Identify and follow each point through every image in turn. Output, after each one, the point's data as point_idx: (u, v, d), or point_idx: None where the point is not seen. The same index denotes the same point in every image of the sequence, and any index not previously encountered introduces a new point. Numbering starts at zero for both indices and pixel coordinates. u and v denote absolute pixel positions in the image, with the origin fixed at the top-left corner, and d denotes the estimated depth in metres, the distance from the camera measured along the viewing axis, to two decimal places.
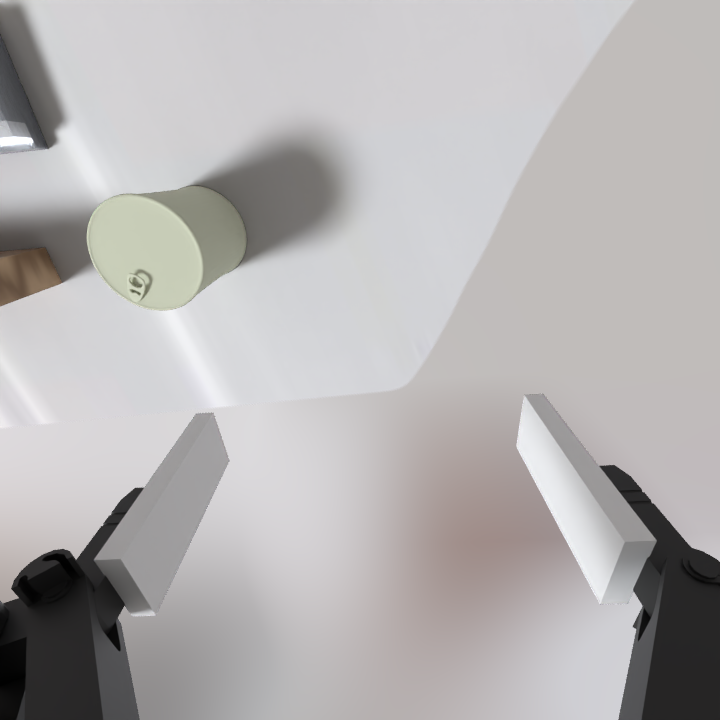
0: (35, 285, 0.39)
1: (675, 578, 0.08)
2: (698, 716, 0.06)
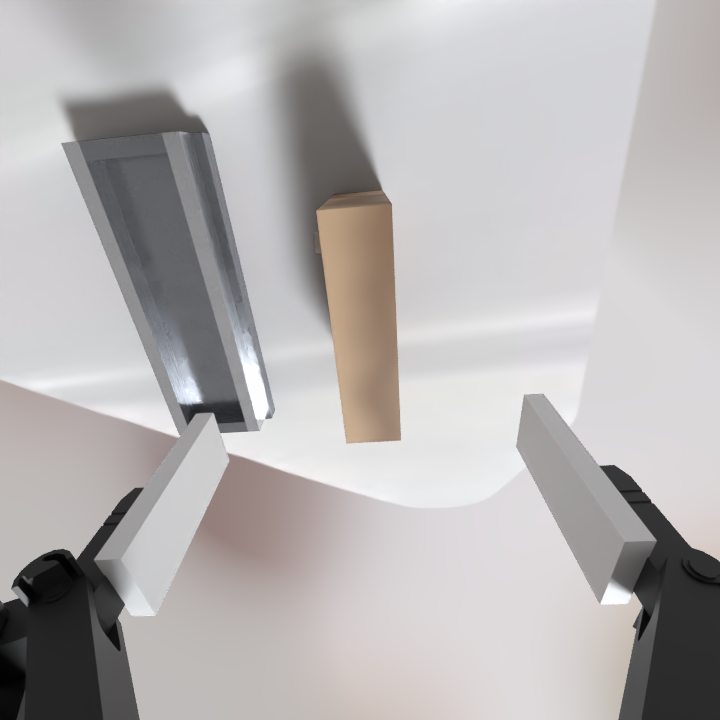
0: (374, 193, 0.27)
1: (675, 577, 0.08)
2: (698, 716, 0.06)
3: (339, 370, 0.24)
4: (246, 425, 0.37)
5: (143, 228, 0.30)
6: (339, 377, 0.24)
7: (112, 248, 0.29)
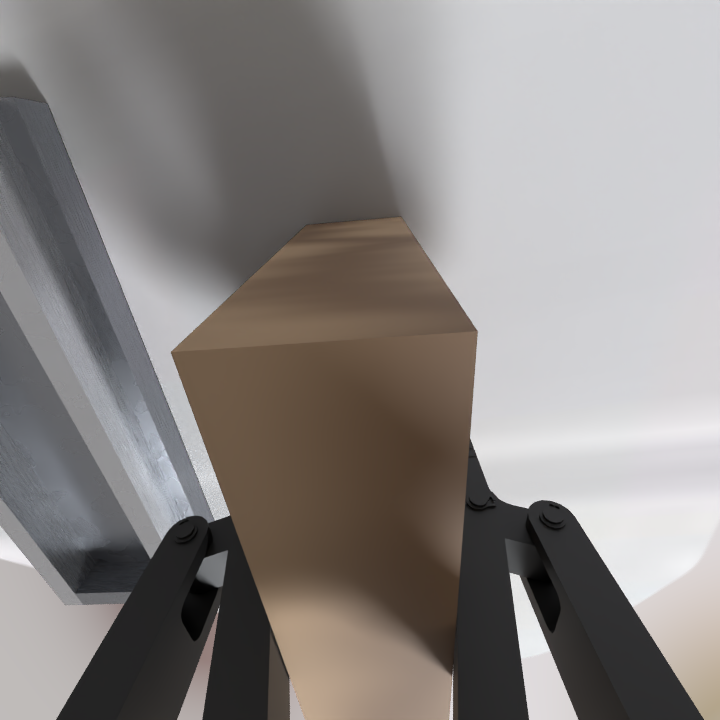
0: (388, 230, 0.12)
1: None
2: (491, 621, 0.08)
3: (301, 691, 0.09)
4: None
5: None
6: (302, 700, 0.10)
7: None
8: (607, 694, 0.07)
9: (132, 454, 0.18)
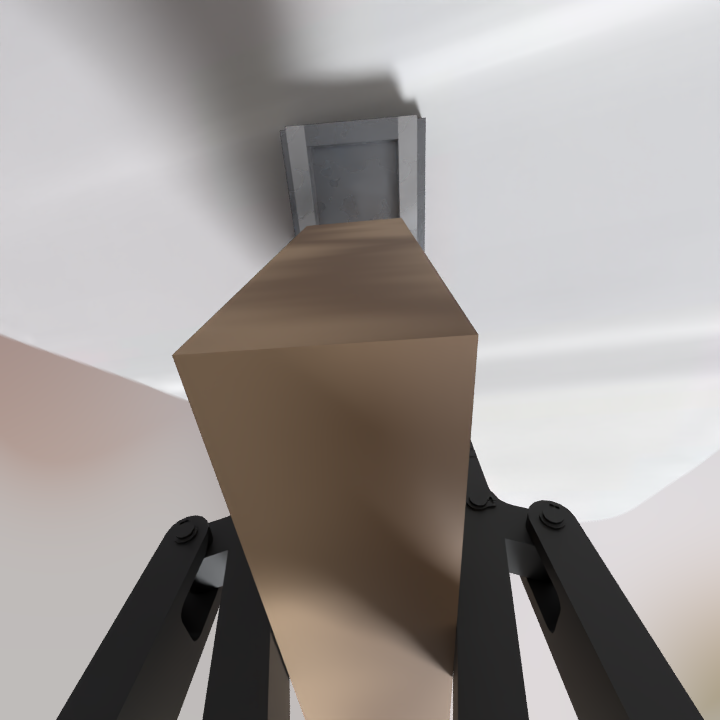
0: (388, 232, 0.12)
1: None
2: (491, 621, 0.08)
3: (301, 692, 0.09)
4: None
5: (336, 222, 0.28)
6: (302, 701, 0.10)
7: None
8: (607, 694, 0.07)
9: None
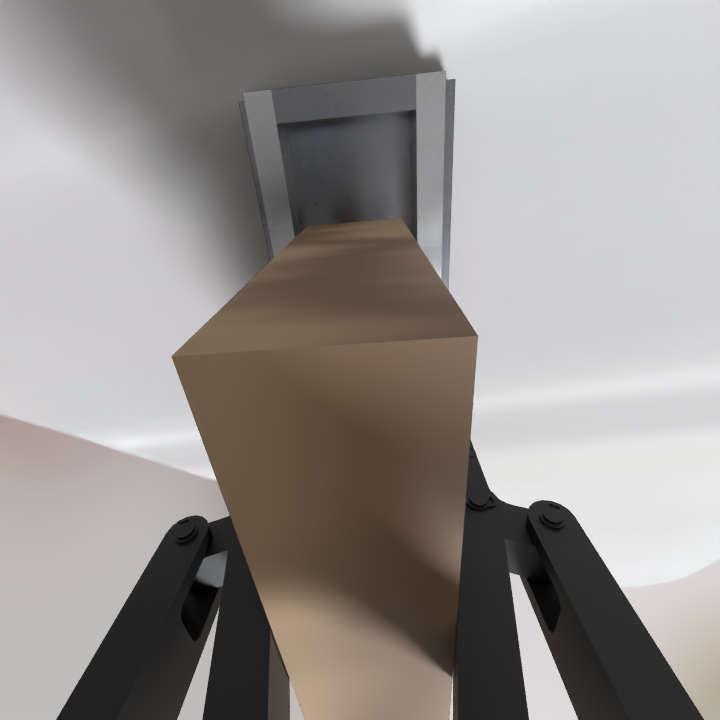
0: (388, 232, 0.12)
1: None
2: (491, 621, 0.08)
3: (301, 693, 0.09)
4: None
5: None
6: (302, 701, 0.10)
7: None
8: (607, 694, 0.07)
9: None
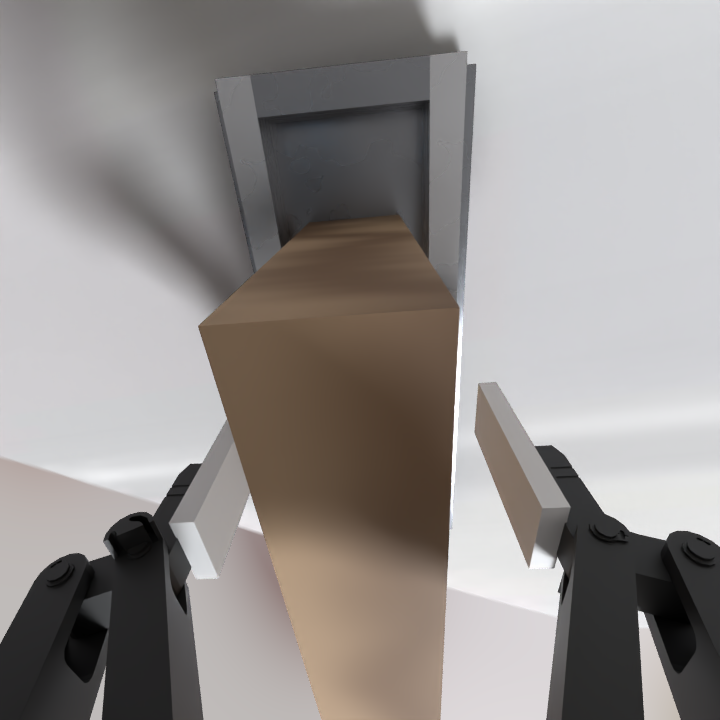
0: (386, 227, 0.13)
1: (585, 542, 0.09)
2: (610, 664, 0.07)
3: (305, 650, 0.10)
4: None
5: None
6: (306, 659, 0.10)
7: None
8: None
9: None
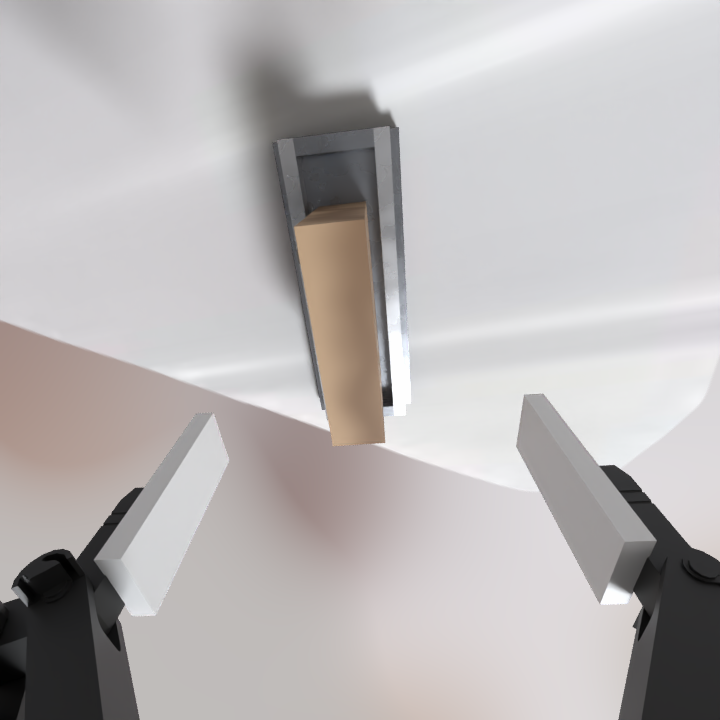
0: (356, 206, 0.28)
1: (675, 578, 0.08)
2: (698, 716, 0.06)
3: (323, 376, 0.25)
4: (394, 409, 0.38)
5: None
6: (323, 383, 0.25)
7: None
8: None
9: None
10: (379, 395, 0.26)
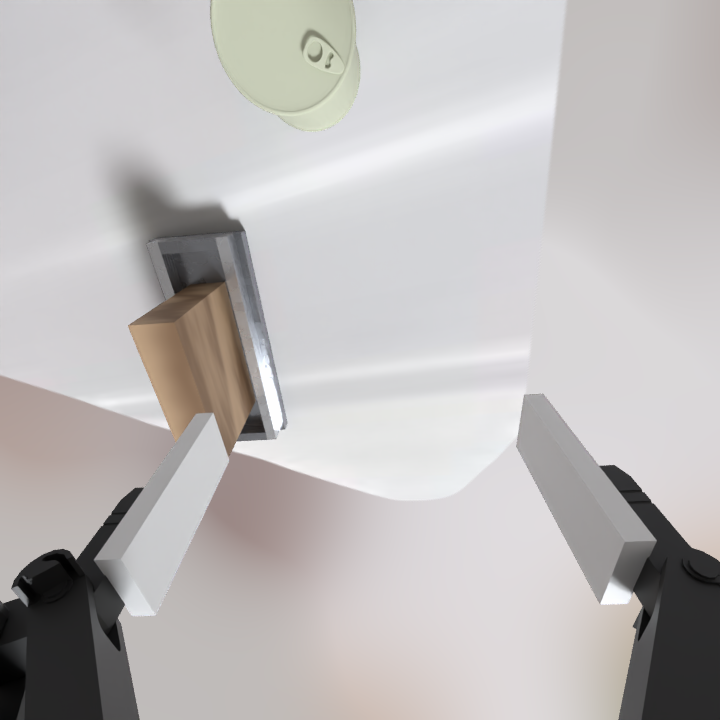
0: (206, 291, 0.38)
1: (675, 578, 0.08)
2: (698, 716, 0.06)
3: (168, 420, 0.35)
4: (266, 435, 0.48)
5: None
6: (169, 424, 0.35)
7: None
8: None
9: (259, 361, 0.44)
10: None
